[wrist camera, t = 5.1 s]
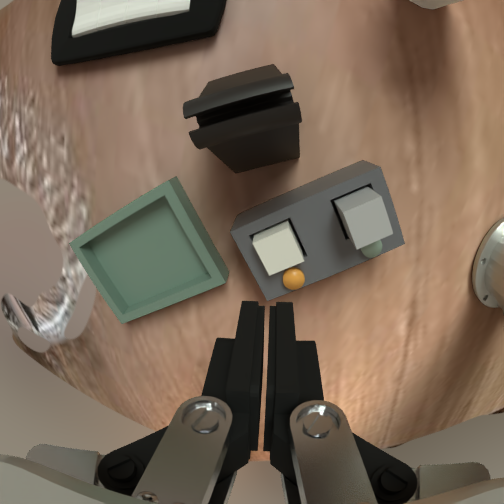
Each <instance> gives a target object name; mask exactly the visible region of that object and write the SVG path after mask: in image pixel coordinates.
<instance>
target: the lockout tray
mask: <svg viewBox="0 0 504 504" xmlns="http://www.w3.org/2000/svg"><path fill="white" fill-rule="evenodd" d="M69 244H70V246H71V247H72V249H73V251H74V252H75V254H76V256H77V257H78V259H79V261H80V262H81V264H82V266H83V267H84V269H85V270H86V272H87V274H88V275H89V277H90V278H91V280H92V281H93V283H94V285H95V286H96V288H97V289H98V291H99V292H100V294H101V295H102V297H103V298H104V300H105V301H106V302H107V304H108V305H109V307H110V308H111V310H112V311H113V312H114V314H115V315H116V317H117V318H118V319H119V321H120V322H121V324H123V323H126V322H128V321H131V320H133V319H136V318H139V317H141V316H144V315H146V314H149V313H151V312H154V311H157V310H159V309H162V308H164V307H167V306H169V305H172V304H174V303H177V302H179V301H182V300H184V299H187V298H189V297H192V296H195V295H197V294H200V293H202V292H205V291H207V290H209V289H212V288H214V287H217V286H219V285H222V284H224V283H226V281H227V278H228V274H229V270H228V269H227V267H226V265H225V263H224V262H223V260H222V258H221V256H220V254H219V253H218V251H217V249H216V247H215V246H214V244H213V242H212V240H211V238H210V237H209V235H208V233H207V231H206V229H205V227H204V226H203V224H202V222H201V220H200V218H199V217H198V215H197V213H196V211H195V209H194V207H193V206H192V204H191V202H190V200H189V198H188V196H187V195H186V193H185V191H184V189H183V187H182V185H181V183H180V182H179V180H178V178H177V176H176V177H174V178H172V179H170V180H168V181H166V182H165V183H163V184H161V185H159V186H158V187H156V188H154V189H153V190H151V191H149V192H147V193H146V194H144V195H142V196H141V197H139V198H138V199H136V200H134V201H133V202H131V203H129V204H128V205H126V206H125V207H123V208H121V209H120V210H118V211H117V212H115V213H114V214H112V215H110V216H109V217H107V218H106V219H104V220H103V221H101V222H100V223H98V224H97V225H95V226H94V227H92V228H91V229H89V230H88V231H86V232H85V233H83V234H82V235H81V236H79V237H78V238H76V239H75V240H73V241H72V242H71V243H69Z"/></svg>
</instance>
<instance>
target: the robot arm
mask: <svg viewBox="0 0 504 504" xmlns="http://www.w3.org/2000/svg"><path fill="white" fill-rule="evenodd" d="M472 284H473V289H474V292H475V294H476V296H477V297H478V299H479V300H480V301H481V302H482V303H483V304H484V305H486V306H488V307H492V308H496V307H500V308H501V309H502V310H503V315H504V218H502V219H501V220H499V221H498V222H497V223H496V224H495V225H494V226H493V227H492V228H491V229H490V230H489V232H488V233H487V235H486V236H485V237H484V239H483V241H482V243H481V245H480V247H479V249H478V252H477V254H476V258H475V261H474V265H473V272H472ZM264 313H265V306H259V303H258V301H242V304H241V309H240V315H239V320H238V326H237V331H236V337H235V339H230V338H217V339H216V342H215V345H214V349H213V353H212V357H211V361H210V365H209V368H208V372H207V376H206V380H205V384H204V388H203V392H202V396H199V397H194V398H191V399H189V400H187V401H185V402H184V403H182V404H181V405H180V407H179V408H178V409H177V411H176V413H175V415H174V417H173V419H172V421H171V422H170V424H169V426H167V427H165V428H163V429H161V430H159V431H157V432H155V433H152V434H150V435H148V436H146V437H144V438H142V439H139V440H137V441H135V442H133V443H131V444H128V445H126V446H124V447H121V448H119V449H117V450H114V451H112V452H110V453H109V454H107V455H100V454H99V452H97V451H88V450H79V449H72V448H65V447H59V446H52V445H47V444H39V445H37V446H34V447H33V448H32V449H31V450H29V452H28V454H27V456H26V459H24V458H20V457H15V456H9V455H0V504H227V502H228V499H229V496H230V493H231V490H232V487H233V484H234V481H235V478H236V475H237V470H238V469H240V468H241V467H243V466H244V465H246V464H247V463H248V460H249V459H250V453H251V450H252V451H257V450H258V437H259V423H260V408H261V393H262V377H263V351H264ZM263 451H270V460H271V461H270V463H271V465H272V466H274V467H275V468H276V469H277V470H279V471H280V472H281V481H282V486H283V492H284V497H285V504H504V478H497V479H490V474H489V471H488V469H487V468H486V467H485V466H484V465H482V464H480V463H478V462H468V463H456V464H441V465H420V466H419V467H418V468H410V467H409V466H408V465H407V464H405V463H403V462H401V461H400V460H398V459H396V458H394V457H392V456H391V455H389V454H387V453H386V452H384V451H382V450H380V449H379V448H377V447H375V446H374V445H372V444H370V443H369V442H367V441H365V440H364V439H362V438H360V437H359V436H357V435H355V434H354V433H352V431H351V429H350V426H349V423H348V421H347V418H346V416H345V414H344V413H343V411H342V410H341V409H340V408H339V407H338V406H337V405H335V404H332V403H330V402H327V401H324V397H323V389H322V382H321V375H320V368H319V362H318V355H317V349H316V343H315V341H296V336H295V324H294V312H293V303H292V302H276V306H270V317H269V343H268V367H267V390H266V410H265V429H264V447H263Z"/></svg>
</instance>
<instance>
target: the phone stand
mask: <svg viewBox="0 0 504 504" xmlns="http://www.w3.org/2000/svg"><path fill="white" fill-rule="evenodd" d="M291 89H294V86H293V83H292V80H291V78H290V76H289V74H288V73H286V74H282V73H281V72H280V71H279V70H278V69H277V67H276V66H275V65H274V64H271V65H267V66H263V67H259V68H255V69H251V70H247V71H243V72H240V73H236V74H233V75H229V76H226V77H222V78H219V79H216V80H213V81H210V82H208V84H207V85H206V87H205V88H204V90H203V91H202V93H201V95H200V96H199V98H196V99H193V100H190V101H187V102H185V103H184V104H183V114H184V118H185V119H187V118H190V117H193V116H196V118H197V123H198V124H199V129H196V130H193V131H190V132H189V135H190V137H191V140H192V141H193V143H194V145H195V146H196V147H197V148H198V149H203V148H206V147H207V148H208V149H209V150H210V151H212V152H213V153H214V154H215V155H216V156H217V157H218V158H219V159H220V160H222V161H223V162H224V163H225V164H226V165H227V166H228V167H229V168H230V169H231V170H233V171H234V172H235V173H239V172H242V171H246V170H250V169H254V168H258V167H262V166H266V165H270V164H274V163H278V162H282V161H286V160H291V159H295V158H299V157H300V147H299V123H301V122H302V118H301V112H300V107H299V103H298V102H295V103H294V102H293V98H292V94H291V92H290V90H291Z"/></svg>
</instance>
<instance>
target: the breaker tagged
mask: <svg viewBox="0 0 504 504" xmlns="http://www.w3.org/2000/svg"><path fill="white" fill-rule="evenodd" d="M253 245H254V247H255V249H256V251H257V253H258V255H259V257H260V259H261V261H262V263H263V265H264V267H265V268H266V270H267V272H268V274H269V276H270V275H272V274H275V273H277V272H280V271H282V270H284V269H287V268H289V267H292V266H294V265H297V264H299V263H301V262H304V257H303V252H302V248H301V244H300V242H299V240H298V237H297V235H296V233H295V231H294V229H293V226H292V224H291V222H290V220H289V218H288V219H285V220H283V221H281V222H279V223H276V224H274V225H272V226H269V227H267V228H265V229H263V230H260V231H258V232H256V233H254V238H253Z"/></svg>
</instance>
